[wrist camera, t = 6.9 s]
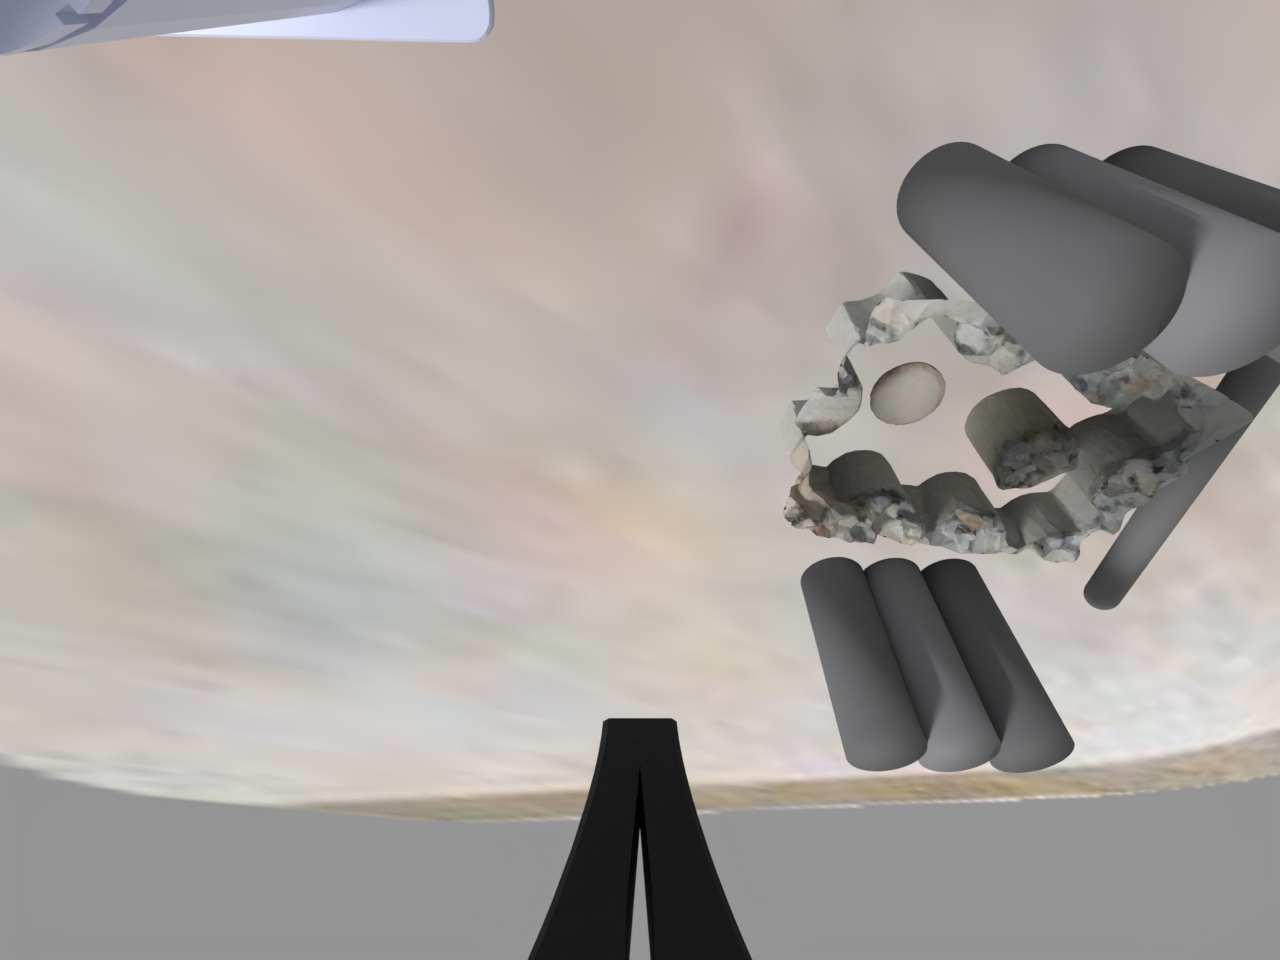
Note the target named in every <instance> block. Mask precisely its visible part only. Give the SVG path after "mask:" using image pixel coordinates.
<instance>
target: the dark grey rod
mask: <svg viewBox="0 0 1280 960" xmlns="http://www.w3.org/2000/svg"><path fill="white" fill-rule="evenodd" d="M1279 385H1280V363H1278V362H1277V361H1275V360H1273V359H1272V358H1270V357H1268V356H1267V355H1264V356H1262V357H1261V358H1259V359H1257V360H1255V361H1253V362H1251V363H1249V364H1247V365H1245V366H1243V367H1241V368H1238V369H1236V370H1233V371H1230V372H1227V373H1226V374H1225V376H1224V377H1223V379H1222V380H1221V382H1220V383H1219V385H1218V386H1217V388H1216V389H1215V390H1217V391H1218V392H1220V393H1222V394H1224V395H1225V396H1227V397H1228V398H1230V399H1231V400H1233V401H1234V402H1236V403H1237V404H1239V405H1240V406H1242V407H1243V408H1245V409H1246V410H1248V411H1249V412H1250V413H1252V415H1253V417H1254V419H1255V417H1256V416H1257V415H1258V413H1259V412H1260V411H1261V409H1262V408H1263V407H1264V405H1265V404H1266V402H1267V401H1268V400H1269V398H1270V397H1271V396H1272V394H1273V393H1274V391H1275V390H1276V389H1277V387H1278V386H1279ZM1252 422H1253V421H1251V422H1250V423H1248V424H1247V425H1245V426H1243V427H1242V428H1240V429H1239V430H1237V431H1235V432H1234V433H1232V434H1231V435H1229V436H1227V437H1226V438H1224V439H1222V440H1220V441H1218V442H1216V443H1214V444H1213V445H1211V446H1209V447H1207V448H1205V449H1203V450H1202V451H1200V452H1198V453H1196V454H1193V455H1192V457H1191V459H1190V462H1189V466H1188V475H1186V476H1183V477H1180V478H1178V479H1176V480H1175V481H1173V482H1171V483H1169V484H1167V485H1166V486H1164V487H1162V488H1160V490H1159V491H1158V492H1157V493H1156V494H1155V496H1154V497H1153V499H1152V501H1151V502H1147V503H1145V505H1144V506H1140V507H1137V508H1136V510H1135V511H1134V513H1133V514H1132V516H1131V517H1130V519H1129V521H1128V522H1127V524H1126V525H1125V527H1124V528H1123V530H1122V531H1121V533H1120V534H1119V536H1118V537H1117V539H1116V540H1115V542H1114V543H1113V545H1112V546H1111V548H1110V549H1109V551H1108V552H1107V554H1106V555H1105V557H1104V558H1103V560H1102V561H1101V563H1100V564H1099V566H1098V567H1097V569H1096V570H1095V572H1094V573H1093V575H1092V576H1091V578H1090V579H1089V581H1088V582H1087V584H1086V585H1085V587H1084V591H1083V594H1084V598H1085V600H1086V601H1087V603H1088V604H1089V605H1091V606H1092V607H1094V608H1096V609H1100V610H1110V609H1113V608H1115V607H1117V606H1118V605H1119V604H1120V602H1121V601H1122V600H1123V598H1124V597H1125V595H1126V594H1127V593H1128V591H1129V590H1130V589H1131V587H1132V586H1133V585H1134V583H1135V582H1136V580H1137V579H1138V578H1139V576H1140V575H1141V574H1142V572H1143V571H1144V569H1145V568H1146V567H1147V565H1148V564H1149V563H1150V561H1151V560H1152V559H1153V557H1154V556H1155V554H1156V553H1157V552H1158V550H1159V549H1160V548H1161V546H1162V545H1163V543H1164V542H1165V541H1166V539H1167V538H1168V537H1169V535H1170V534H1171V532H1172V531H1173V530H1174V528H1175V527H1176V526H1177V524H1178V523H1179V522H1180V520H1181V519H1182V517H1183V516H1184V515H1185V513H1186V512H1187V511H1188V509H1189V508H1190V506H1191V505H1192V504H1193V502H1194V501H1195V500H1196V498H1197V497H1198V496H1199V494H1200V493H1201V491H1202V490H1203V489H1204V487H1205V486H1206V485H1207V483H1208V482H1209V480H1210V479H1211V478H1212V476H1213V475H1214V474H1215V472H1216V471H1217V470H1218V468H1219V467H1220V465H1221V464H1222V463H1223V461H1224V460H1225V459H1226V457H1227V456H1228V454H1229V453H1230V452H1231V450H1232V449H1233V448H1234V446H1235V445H1236V443H1237V442H1238V441H1239V439H1240V438H1241V437H1242V435H1243V434H1244V433H1245V431H1246V430H1247V428H1248V427H1249V426H1250V424H1251V423H1252Z"/></svg>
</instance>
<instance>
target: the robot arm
mask: <svg viewBox="0 0 1280 960" xmlns="http://www.w3.org/2000/svg"><path fill="white" fill-rule="evenodd" d="M494 19H495V10H494V0H0V56H8V55H12V54H16V53H21V52H30V51H38V50H46V49H54V48H62V47H70V46H77V45H85V44H93V43H101V42H109V41H116V40H124V39H132V38H140V37H148V36H173V37H221V38H269V39H317V40H365V41H413V42H461V43H473V42H477V41H481V40H483V39H484V38H486V37H487V36H488V35H489V34H490V33H491V30H492V28H493V26H494ZM639 833H640V835H641V847H642V860H643V872H644V885H645V898H646V910H647V923H648V935H649V948H650V960H752V958H751V955H750V953H749V951H748V949H747V946H746V944H745V942H744V939H743V937H742V935H741V932H740V930H739V927H738V925H737V923H736V920H735V918H734V915H733V913H732V910H731V908H730V905H729V903H728V900H727V897H726V895H725V892H724V890H723V887H722V884H721V882H720V879H719V876H718V874H717V871H716V868H715V865H714V863H713V860H712V857H711V854H710V851H709V848H708V845H707V842H706V839H705V836H704V833H703V830H702V827H701V824H700V821H699V818H698V815H697V811H696V808H695V804H694V801H693V798H692V794H691V790H690V786H689V782H688V779H687V775H686V771H685V766H684V762H683V757H682V752H681V747H680V741H679V735H678V727H677V721H675V720H674V719H672V718H608V719H606V720H605V721H603V725H602V734H601V741H600V746H599V752H598V757H597V761H596V766H595V770H594V774H593V778H592V782H591V786H590V789H589V793H588V797H587V800H586V804H585V807H584V810H583V813H582V817H581V820H580V823H579V826H578V829H577V833H576V836H575V839H574V842H573V845H572V848H571V851H570V854H569V856H568V859H567V862H566V865H565V867H564V870H563V873H562V875H561V878H560V881H559V884H558V886H557V889H556V892H555V894H554V897H553V900H552V902H551V905H550V907H549V910H548V912H547V915H546V917H545V920H544V922H543V924H542V927H541V929H540V932H539V934H538V936H537V939H536V941H535V943H534V946H533V948H532V950H531V953H530V955H529V957H528V960H630V946H631V934H632V921H633V909H634V896H635V884H636V871H637V859H638V846H639Z"/></svg>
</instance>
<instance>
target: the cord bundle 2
mask: <svg viewBox="0 0 1280 960" xmlns="http://www.w3.org/2000/svg"><path fill="white" fill-rule="evenodd" d="M897 216H898V220H899V223H900V225H901V227H902V228H903V230H904V231H905V232H906V234H907V235H909V236H910V237H911V238H912V239H913V240H914V241H915V242H916V243H917V244H918V245H919V246H920V247H921V248H922V249H923V250H924V251H925V252H926V253H927V254H928V255H929V256H930V257H931V258H932V259H933V260H934V261H935V262H936V263H937V264H938V265H939V266H940V267H941V268H942V269H943V270H944V271H945V272H946V273H947V274H948V275H949V276H950V277H951V278H952V279H953V280H954V281H955V282H956V283H957V284H958V285H959V286H960V287H961V288H962V289H963V290H964V291H966V292H967V293H968V294H969V295H970V296H971V297H972V298H973V299H974V300H975V301H976V302H977V303H978V304H979V305H980V306H981V307H982V308H983V309H984V310H985V311H986V312H987V313H988V314H989V315H990V316H991V317H992V318H993V319H994V320H995V321H996V322H997V323H998V324H999V325H1000V326H1001V327H1002V328H1003V329H1004V330H1005V331H1006V332H1007V333H1008V334H1009V335H1010V336H1011V337H1012V338H1013V339H1014V340H1015V341H1016V342H1017V343H1018V344H1019V345H1020V346H1021V347H1023V348H1024V349H1025V350H1026V351H1027V352H1028V353H1029V354H1030V355H1031V356H1032V357H1033V358H1034V359H1035V360H1036V361H1037V362H1038V363H1039V364H1040V365H1041V366H1043V367H1044V368H1046V369H1048V370H1050V371H1053V372H1055V373H1059V374H1064V375H1084V374H1090V373H1095V372H1099V371H1102V370H1105V369H1108V368H1111V367H1113V366H1115V365H1118V364H1120V363H1122V362H1124V361H1126V360H1127V359H1129V358H1131V357H1133V356H1134V355H1136V354H1137V353H1139V352H1140V351H1141V350H1144V351H1145V352H1146V353H1148V354H1149V355H1150V356H1152V357H1153V358H1154V359H1156V360H1157V361H1158V362H1160V363H1161V364H1162V365H1163V366H1165V367H1166V368H1167V369H1169V370H1171V371H1172V372H1174V373H1177V374H1179V375H1183V376H1188V377H1208V376H1214V375H1219V374H1223V373H1227V372H1230V371H1233V370H1236V369H1238V368H1241V367H1243V366H1245V365H1247V364H1249V363H1251V362H1253V361H1255V360H1257V359H1259V358H1261V357H1262V356H1264V355H1267V356H1268V357H1270V358H1272V359H1273V360H1275V361H1277V362H1278V363H1280V189H1278V188H1275V187H1272V186H1269V185H1266V184H1263V183H1260V182H1257V181H1254V180H1251V179H1248V178H1245V177H1242V176H1239V175H1236V174H1234V173H1231V172H1228V171H1225V170H1222V169H1219V168H1216V167H1213V166H1210V165H1207V164H1204V163H1201V162H1198V161H1195V160H1192V159H1189V158H1186V157H1183V156H1180V155H1177V154H1174V153H1171V152H1169V151H1166V150H1163V149H1160V148H1157V147H1153V146H1147V145H1141V146H1133V147H1129V148H1126V149H1123V150H1120V151H1118V152H1116V153H1114V154H1112V155H1110V156H1109V157H1107V158H1106V159H1104V160H1103V161H1102V160H1099V159H1097V158H1094V157H1092V156H1090V155H1087V154H1085V153H1082V152H1080V151H1077V150H1075V149H1072V148H1070V147H1067V146H1065V145H1061V144H1043V145H1039V146H1035V147H1032V148H1030V149H1028V150H1026V151H1024V152H1022V153H1020V154H1019V155H1017V156H1016V157H1014V158H1013V159H1012V160H1011V161H1007V160H1005V159H1003V158H1001V157H999V156H997V155H995V154H993V153H992V152H990V151H988V150H986V149H984V148H982V147H980V146H978V145H975V144H973V143H969V142H953V143H948V144H945V145H942V146H939V147H937V148H935V149H933V150H932V151H930V152H928V153H927V154H926V155H924V156H923V157H922V158H921V159H920V160H918V161H917V162H916V163H915V165H914V166H913V167H912V168H911V169H910V171H909V172H908V173H907V175H906V177H905V179H904V180H903V182H902V185H901V187H900V190H899V193H898V198H897Z"/></svg>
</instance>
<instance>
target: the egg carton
mask: <svg viewBox="0 0 1280 960" xmlns="http://www.w3.org/2000/svg"><path fill="white" fill-rule="evenodd" d="M927 318H932V319H933V321H934V322H935V323H936V324H937V326H938V327H939V328H940V330H941V331H942V332H943V333H944V334H945V336H946V337H947V338H948V339H949V340H950V342H951V343H952V344H953V345H954V346H955V348H956V349H957V350H958V352H959V353H960V354H961V355H962V356H963V357H964V358H965V359H966V360H968V361H970V362H972V363H977V364H981V365H985V366H990V367H992V368H994V369H996V370H997V371H999V372H1000V374H1001V375H1005V374H1008V373H1010V372H1012V371H1014V370H1016V369H1018V368H1020V367H1022V366H1023V365H1026V364H1028V363H1030V362H1032V361H1034V360H1035V359H1034V358H1033V357H1032V356H1031V355H1030V354H1029V353H1028V352H1027V351H1026V350H1025V349H1024V348H1023V347H1021V346H1020V345H1019V344H1018V343H1017V342H1016V341H1015V340H1014V339H1013V338H1012V337H1011V336H1010V335H1009V334H1008V333H1007V332H1006V331H1005V330H1004V329H1003V328H1002V327H1001V326H1000V325H999V324H998V323H997V322H996V321H995V320H994V319H993V318H992V317H991V316H990V315H989V314H988V313H987V312H986V311H985V310H984V309H983V308H982V307H981V306H980V305H979V304H978V303H976V302H972V301H966V300H951V299H948V298H947V297H946V296H945V295H944V293H943V292H942V291H941V290H940V289H939V288H938V287H937V286H936V285H935V284H934V283H933V282H932V281H931V280H930V279H927V278H925V277H923V276H920V275H916V274H913V273H909V272H899V273H898V274H897V275H896V276H895V277H894V278H893V279H892V281H891V282H890V283H889V285H888V286H887V287H885V288H884V289H883V290H881V291H880V292H879V293H878V294H876V295H874V296H872V297H869V298H866V299H863V300H859V301H845V302H843V303H842V304H840V305H839V307H838V308H837V310H836V311H835V313H834V315H833V317H832V319H831V320H830V322H829V323H828V324H827V327H826V332H825V333H826V335H827V337H828V339H829V340H830V341H831V343H832V346H833V348H834V351H835V353H836V354H837V356H838V358H839V360H840V363H841V364H840V368H839V371H838V377H837V379H838V383H837V384H836V385H835V386H834V387H833V388H828V387H816V389H815V390H814V391H813V392H812V393H811V395H810V397H809V399H808V400H795V401H791V402H790V404H789V405H788V407H787V409H786V411H785V413H784V415H783V416H782V418H781V420H780V423H779V427H780V431H781V434H782V437H783V440H784V443H785V447H786V451H787V453H788V454H789V456H790V459H791V463H792V465H794V466H795V467H796V468H797V469H798V470H799V471H800V472H801V475H799V476H798V477H797V478H796V482H795V484H794V485H793V486H791V490H790V495H789V498H788V500H787V503H786V505H785V508H784V510H783V515H784V517H785V519H786V520H787V521H788V522H791V526H793V527H795V528H796V529H810V530H811V531H812V532H813V533H814V534H815V535H817V536H820V537H826V538H831V537H837V538H839V539H842V540H844V541H846V542H848V543H852V542H858V543H863V542H867V543H871V544H874V543H875V541H876V538H877V535H880V536H883V537H885V538H889V539H892V540H895V541H897V542H899V543H901V544H904V545H908V546H912V545H914V544H916V543H922V544H926V545H932V546H941V547H943V548H946V549H949V550H951V551H954V552H957V553H959V554H995V553H999V552H1004V553H1008V554H1019V553H1020V552H1022V551H1023V550H1031V551H1034V552H1035V553H1036V554H1037V555H1038V556H1040V557H1041V558H1042V559H1043V560H1046V561H1050V562H1055V563H1059V562H1062V561H1066V562H1070V563H1074V562H1075V561H1076V560H1077V559H1078V557H1079V556H1080V544H1081V542H1082V541H1083V540H1084V539H1086V538H1087V537H1088V536H1089V535H1090V534H1091V533H1093V532H1096V531H1099V530H1103V531H1105V532H1107V533H1110V534H1112V535H1114V534H1115V533H1117V532H1118V531H1119V530H1120V528H1121V525H1122V522H1123V519H1124V516H1125V515H1126V513H1127V512H1129V511H1130V510H1131V509H1134V508H1137V507H1140V506H1144V505H1145V503H1147V502H1151V501H1152V499H1153V497H1154V496H1155V494H1156V493H1157V492H1158V491H1159V490H1160V488H1162V487H1164V486H1166V485H1167V484H1169V483H1171V482H1173V481H1175V480H1176V479H1178V478H1180V477H1183V476H1186V475H1188V466H1189V462H1190V459H1191V457H1192V455H1193V454H1196V453H1198V452H1200V451H1202V450H1203V449H1205V448H1207V447H1209V446H1211V445H1213V444H1214V443H1216V442H1218V441H1220V440H1222V439H1224V438H1226V437H1227V436H1229V435H1231V434H1232V433H1234V432H1235V431H1237V430H1239V429H1240V428H1242V427H1243V426H1245V425H1247V424H1248V423H1250V422H1251V421H1253V420H1255V419H1254V417H1253V415H1252V413H1250V412H1249V411H1248V410H1246V409H1245V408H1243V407H1242V406H1240V405H1239V404H1237V403H1236V402H1234V401H1233V400H1231V399H1230V398H1228V397H1227V396H1225V395H1224V394H1222V393H1220V392H1218V391H1217V390H1215V389H1213V388H1211V387H1210V386H1208V385H1206V384H1204V383H1202V382H1200V381H1198V380H1196V379H1195V378H1193V377H1188V376H1183V375H1179V374H1177V373H1174V372H1172V371H1171V370H1169V369H1167V368H1166V367H1165V366H1163V365H1162V364H1161V363H1160V362H1158V361H1157V360H1156V359H1154V358H1153V357H1152V356H1150V355H1149V354H1148V353H1146V352H1145V351H1144V350H1141V351H1140V352H1139V353H1137V354H1136V355H1134V356H1133V357H1131V358H1129V359H1127V360H1126V361H1124V362H1122V363H1120V364H1118V365H1115V366H1113V367H1111V368H1108V369H1105V370H1102V371H1099V372H1095V373H1090V374H1084V375H1064V374H1061V375H1062V376H1063V377H1064V378H1065V379H1066V380H1067V381H1068V382H1069V383H1070V384H1071V385H1072V386H1073V387H1074V388H1075V390H1077V391H1078V392H1080V393H1081V394H1082V395H1083V396H1084V397H1085V398H1086V399H1087V400H1088V401H1089V402H1090V403H1092V404H1096V405H1100V406H1105V407H1107V408H1112V409H1111V410H1109V411H1108V412H1105V413H1103V414H1098V415H1095V416H1091V417H1088V418H1086V419H1084V420H1082V421H1079V422H1077V423H1075V424H1074V425H1073V426H1071V427H1070V428H1069V427H1067V426H1066V425H1065V424H1064V423H1063V422H1062V421H1061V420H1060V419H1059V418H1058V417H1057V416H1056V415H1055V414H1054V413H1053V412H1052V411H1051V409H1050V408H1049V407H1048V406H1047V405H1046V404H1045V403H1044V402H1043V401H1042V400H1041V399H1040V398H1039V397H1038V396H1037V395H1036V394H1035V393H1034V392H1032V391H1030V390H1028V389H1024V388H1009V389H1005V390H1001V391H998V392H996V393H994V394H991V395H989V396H987V397H985V398H983V399H982V400H981V401H980V402H979V403H978V404H977V405H975V406H974V407H973V408H972V410H971V412H970V413H969V415H968V417H967V419H966V423H965V426H964V427H965V433H966V436H967V437H968V439H969V441H970V442H971V444H972V445H973V447H974V448H975V450H976V451H977V453H978V454H979V456H980V457H981V459H982V460H983V462H984V463H985V465H986V466H987V468H988V469H989V471H990V472H991V474H992V475H993V477H994V479H995V482H996V485H997V487H998V488H999V489H1001V490H1007V489H1013V488H1019V489H1026V488H1031V487H1034V486H1036V485H1038V484H1041V483H1043V482H1045V481H1047V480H1050V479H1052V478H1054V477H1056V476H1058V475H1060V474H1063V473H1066V474H1065V475H1064V476H1063V477H1062V478H1061V479H1060V481H1059V482H1058V483H1057V484H1056V485H1055V486H1054V487H1053V488H1052V489H1051V490H1050V491H1048V492H1036V493H1028V494H1024V495H1021V496H1018V497H1016V498H1014V499H1012V500H1010V501H1009V502H1008V503H1006V504H1005V505H1004V506H1002V507H1001V508H994V507H993V505H992V504H991V502H990V501H989V499H988V498H987V496H986V495H985V494H984V492H983V491H982V489H981V488H980V486H979V484H978V483H977V481H976V479H974V478H973V477H971V476H970V475H968V474H966V473H963V472H944V473H940V474H936V475H934V476H933V477H931V478H929V479H927V480H925V481H924V482H922V483H921V484H920V485H919V486H913V485H903V484H900V482H899V480H898V478H897V476H896V474H895V472H894V470H893V468H892V467H891V465H890V463H889V462H888V461H887V460H886V458H885V457H884V456H883V455H882V454H880V453H878V452H875V451H871V450H855V451H851V452H847V453H845V454H843V455H841V456H840V457H838V458H836V459H834V460H833V461H832V462H831V463H830V464H829V465H828V466H826V467H823V466H817V465H812V460H811V456H810V451H809V447H808V444H807V442H806V440H805V437H806V436H807V435H811V436H820V435H825V434H830V433H833V432H834V431H835V430H837V429H838V428H840V427H841V426H842V425H844V424H845V423H846V422H848V421H849V420H851V419H852V418H853V416H854V415H855V414H856V413H857V412H858V411H859V409H860V406H861V401H862V392H863V387H862V384H861V382H860V380H859V378H858V376H857V374H856V372H855V370H854V368H853V366H852V364H851V362H850V360H849V358H848V356H847V355H848V354H849V352H850V351H851V349H852V348H853V347H854V346H855V345H857V344H858V343H861V344H864V345H865V346H866V347H868V348H869V347H871V346H872V345H874V344H879V343H886V344H889V343H892V342H896V341H899V340H901V339H902V337H903V336H904V335H905V334H906V332H908V331H910V330H911V329H913V328H915V327H916V326H917V325H918V324H920V323H921V322H923V321H924V320H926V319H927ZM945 384H946V383H945V380H944V378H943V376H942V374H941V373H940V372H939V371H938V370H937V369H936V368H935V367H934V366H932V365H930V364H928V363H924V362H909V363H905V364H902V365H899V366H896V367H895V368H893V369H891V370H889V371H887V372H886V373H884V374H883V375H882V376H881V377H880V378H879V379H878V380H877V382H876V383H875V384H874V386H873V388H872V391H871V394H870V398H871V400H870V409H871V410H872V412H873V413H874V415H875V416H876V418H878V419H879V420H881V421H883V422H885V423H887V424H894V425H896V426H897V425H906V424H910V423H914V422H917V421H919V420H921V419H923V418H925V417H926V416H928V415H929V414H931V413H932V412H934V410H935V409H936V408H937V407H938V406H939V405H940V403H941V401H942V399H943V397H944V394H945Z"/></svg>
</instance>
